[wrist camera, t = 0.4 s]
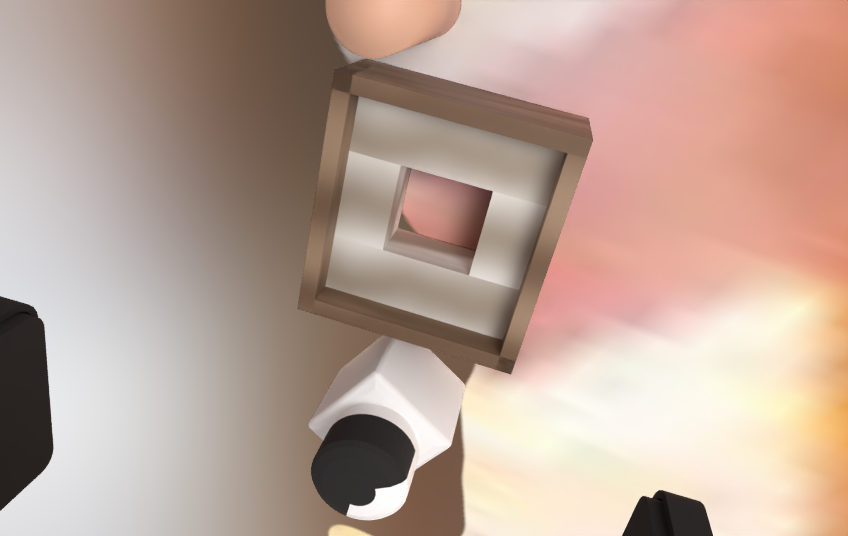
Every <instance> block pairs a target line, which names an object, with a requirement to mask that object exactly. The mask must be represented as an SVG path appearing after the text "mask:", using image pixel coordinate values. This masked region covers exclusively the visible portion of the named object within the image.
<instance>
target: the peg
mask: <svg viewBox="0 0 848 536" xmlns="http://www.w3.org/2000/svg"><path fill="white" fill-rule="evenodd" d="M460 10H461V0H326V14H327V19H328V22H329V25H330V28H331V30H332V32H333V33H334V35H335V37H336V38H337V39H338V41H339V42H340V43H341V44H342V45H343V46H344V47H345V48H346V49H348V50H349V51H351V52H352V53H354V54H356V55H359V56H362V57H366V58H383V57H387V56H389V55H392V54H394V53H397V52H400V51H402V50H405V49H407V48H410V47H413V46H415V45H418V44H420V43H423V42H425V41H428V40H431V39H433V38H436V37H438V36H441V35H443V34H444V33H446V32H447V31H449V30H450V29H451V28H452V26H453V25H454V24H455V22H456V20H457V18H458V16H459V13H460Z"/></svg>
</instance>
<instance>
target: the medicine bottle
mask: <svg viewBox="0 0 848 536" xmlns="http://www.w3.org/2000/svg"><path fill="white" fill-rule="evenodd" d="M464 390H465V385H464V383H463V382H462V381H461V380H460V379H459V378H458V377H457V376H456V375H455V374H454V373H453V372H452V371H450V369H449V368H448V367H447V366H446V365H445V364H444V363H443V362H442V361H441V360H440V359H439V358H438V357H437V356H436V355H435V354H434V353H433V352H432V351H431V350H430V349H427V348H424V347H420V346H417V345H414V344H411V343H407V342H404V341H401V340H398V339H394V338H391V337H388V336H385V335H382V336H381V337H380V338H378V339H377V340H376V341H375V342H374V343H372V344H371V345H370V346H369V347H367V348H366V349H365V350H364V351H362V352H361V353H360V354H359V355H357V356H356V357H355V358H353V359H352V360H351V361H350V362H349V363H347V364H346V365H345V366H344V367H342V368H341V369H340V370H339V372H338V373H337V375H336V377H335V379H334V380H333V382H332V384H331V385H330V387H329V389H328V391H327V392H326V394H325V396H324V397H323V399H322V401H321V402H320V404H319V406H318V408H317V409H316V411H315V413H314V415H313V416H312V418H311V420H310V421H309V428H310V429H311V430H312V431H313V432H314V433H315V434H317V436H319V437H320V438H321V439H322V440H323V442H322V444H321V446H320V448H319V450H318V452H317V453H316V455H315V457H314V459H313V462H312V467H311V475H312V480H313V483H314V485H315V487H316V489H317V491H318V493H319V495H320V496H321V498H322V499H323V500H324V501H325V502H326V503H327V504H328V505H329V506H330V507H332V508H333V509H335V510H336V511H338V512H339V513H341V514H343V515H346V516H348V517H351V518H355V519H360V520H375V519H380V518H384V517H386V516H389V515H391V514H393V513H395V512H396V511H397V510H399V509H400V507H401V506H402V505H403V504H404V502H405V500H406V497H407V494H408V491H409V488H410V485H411V481H412V478H413V475H414V471H415V469H417V468H418V467H420V466H421V465H423V464H424V463H426V462H428V461H429V460H431V459H432V458H434V457H435V456H437V455H438V454H440V453H441V452H443V451H445V450H446V449H448V448H449V447H450V445H451V443H452V439H453V435H454V431H455V427H456V423H457V419H458V415H459V411H460V407H461V403H462V398H463V394H464Z"/></svg>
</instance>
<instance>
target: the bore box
mask: <svg viewBox="0 0 848 536" xmlns="http://www.w3.org/2000/svg"><path fill="white" fill-rule="evenodd" d="M592 142H593V137H592V132H591V127H590V122H589V118H586V117H582V116H578V115H574V114H571V113H567V112H563V111H560V110H556V109H552V108H548V107H545V106H541V105H537V104H533V103H530V102H526V101H522V100H519V99H515V98H511V97H507V96H504V95H500V94H496V93H492V92H489V91H485V90H481V89H478V88H474V87H470V86H466V85H463V84H459V83H455V82H451V81H448V80H444V79H440V78H437V77H433V76H429V75H425V74H422V73H418V72H414V71H410V70H407V69H403V68H399V67H396V66H392V65H388V64H384V63H381V62H377V61H373V60H369V59H364V60H361V61H359V62H356V63H353V64H350V65H347V66H345V67H342V68H339V69H336V70H335V72H334V79H333V85H332V92H331V98H330V104H329V111H328V117H327V124H326V130H325V136H324V143H323V149H322V156H321V162H320V169H319V175H318V181H317V188H316V194H315V201H314V207H313V213H312V220H311V226H310V233H309V239H308V246H307V252H306V258H305V264H304V271H303V277H302V284H301V290H300V296H299V303H298V309H300V310H303V311H306V312H310V313H313V314H316V315H320V316H323V317H326V318H329V319H333V320H336V321H339V322H343V323H346V324H349V325H352V326H356V327H359V328H362V329H365V330H369V331H372V332H375V333H378V334H381V335H385V336H388V337H391V338H394V339H398V340H401V341H404V342H407V343H411V344H414V345H417V346H420V347H424V348H427V349H430V350H434V351H437V352H440V353H443V354H447V355H450V356H453V357H456V358H460V359H463V360H466V361H469V362H473V363H476V364H479V365H482V366H486V367H489V368H492V369H495V370H499V371H502V372H505V373H508V374H511V373H512V370H513V367H514V364H515V362H516V359H517V356H518V353H519V350H520V347H521V344H522V342H523V339H524V336H525V333H526V330H527V327H528V324H529V322H530V319H531V316H532V313H533V310H534V307H535V304H536V302H537V299H538V296H539V293H540V290H541V287H542V284H543V282H544V279H545V276H546V273H547V270H548V267H549V264H550V262H551V259H552V256H553V253H554V250H555V247H556V244H557V242H558V239H559V236H560V233H561V230H562V227H563V224H564V222H565V219H566V216H567V213H568V210H569V207H570V204H571V202H572V199H573V196H574V193H575V190H576V187H577V184H578V182H579V179H580V176H581V173H582V170H583V167H584V164H585V162H586V159H587V156H588V153H589V150H590V147H591V144H592ZM411 168H412V169H415V170H419V171H423V172H426V173H430V174H433V175H437V176H440V177H444V178H447V179H451V180H454V181H458V182H462V183H465V184H469V185H472V186H476V187H479V188H483V189H486V190H490V191H493V194H492V197H491V201H490V204H489V207H488V211H487V214H486V218H485V221H484V225H483V228H482V232H481V235H480V239H479V242H478V246H477V249H476V251H474V250H471V249H468V248H464V247H461V246H457V245H454V244H450V243H447V242H444V241H440V240H437V239H433V238H430V237H426V236H423V235H419V234H416V233H413V232H409V231H406V230H402V229H399V228H398V224H399V220H400V216H401V211H402V207H403V202H404V198H405V193H406V189H407V184H408V180H409V175H410V171H411Z"/></svg>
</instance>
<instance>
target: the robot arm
mask: <svg viewBox="0 0 848 536" xmlns="http://www.w3.org/2000/svg"><path fill="white" fill-rule="evenodd" d="M50 410H51V409H50V398H49V384H48V370H47V356H46V343H45V330H44V324H43V321H42V320H41V319H40V318H38V315H37V311H36V310H35V309H34V307H32V306H30V305H28V304H24V303H21V302H18V301H14V300H10V299H7V298H4V297H1V296H0V510H2V509H3V508H4V507H5V506H6V505H7V504H8V503H9V502H10V501H11V500H12V499H14V498H15V497H16V496H17V495H18V494H19V493H20V492H21V491H22V490H23V489H24V488H25V487H26V486H28V484H30V483H31V482H32V481H33V480H34V479H35V478H36V477H37V476H38V475H39V474H41V473H42V471H43V470H44V469H45V468H46V466H47V465H48V464H49V462H50V459H51V457H52V453H53V436H52V423H51V411H50ZM622 536H713V534H712V530H711V527H710V523H709V520H708V516H707V513H706V510H705V507H704V505H703V504H702V503H701V502H700V501H697V500H693V499H690V498H687V497H683V496H680V495H676V494H673V493H669V492H666V491H663V490H659V491H657V492H656V493H655V495H654V496H653V498H649V497H646V496H642V497H641V498H640V500H639V501H638V503H637V505H636V507H635V509H634V512H633V514H632V516H631V518H630V520H629V522H628V524H627V526H626V529H625V531H624V533H623V535H622Z"/></svg>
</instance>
